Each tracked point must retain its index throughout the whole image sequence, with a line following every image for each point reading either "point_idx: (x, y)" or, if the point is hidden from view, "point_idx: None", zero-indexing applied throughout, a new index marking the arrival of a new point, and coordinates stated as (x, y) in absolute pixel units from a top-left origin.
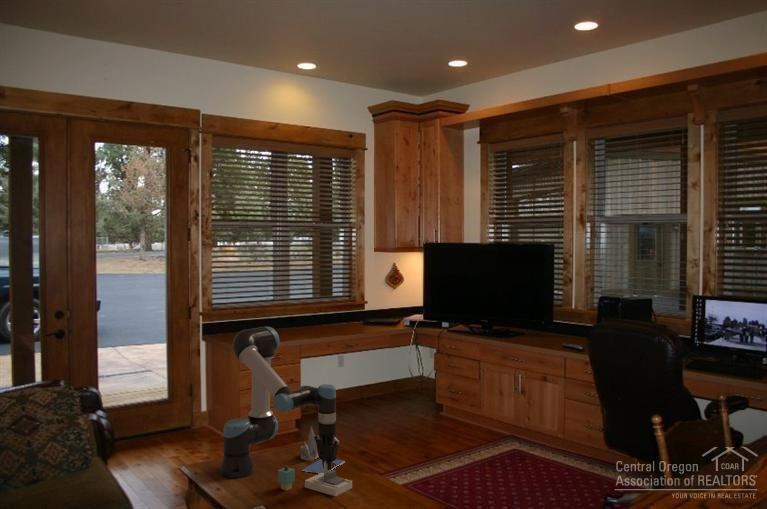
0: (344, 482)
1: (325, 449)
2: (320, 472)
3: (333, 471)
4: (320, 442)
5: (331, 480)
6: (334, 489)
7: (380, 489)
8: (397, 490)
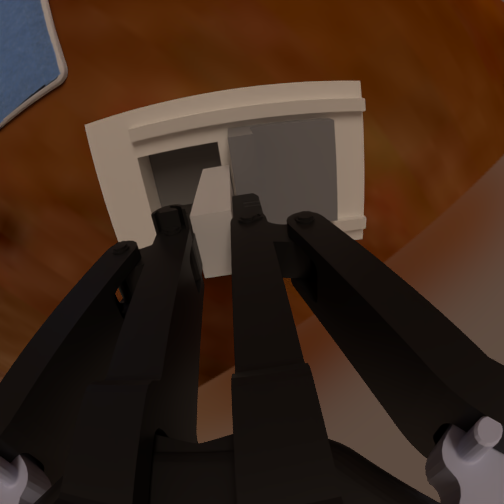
0: (340, 132)
1: (188, 362)
2: (33, 83)
3: (247, 157)
4: (49, 424)
5: (283, 200)
6: (353, 238)
7: (452, 28)
8: (494, 14)
